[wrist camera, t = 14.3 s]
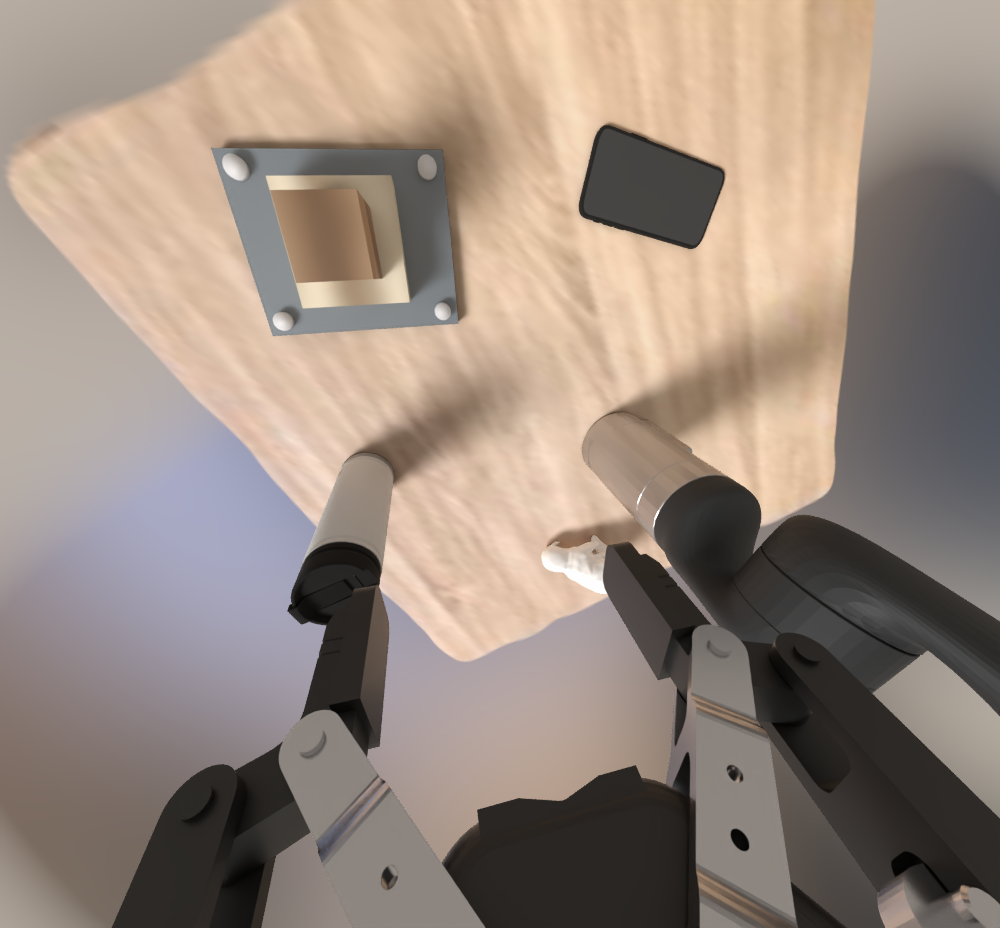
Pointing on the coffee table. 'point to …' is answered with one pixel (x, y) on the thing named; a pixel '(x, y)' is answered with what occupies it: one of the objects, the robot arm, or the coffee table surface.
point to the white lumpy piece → (579, 563)
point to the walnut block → (327, 234)
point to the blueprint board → (419, 224)
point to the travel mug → (346, 541)
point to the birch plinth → (387, 236)
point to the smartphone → (649, 188)
